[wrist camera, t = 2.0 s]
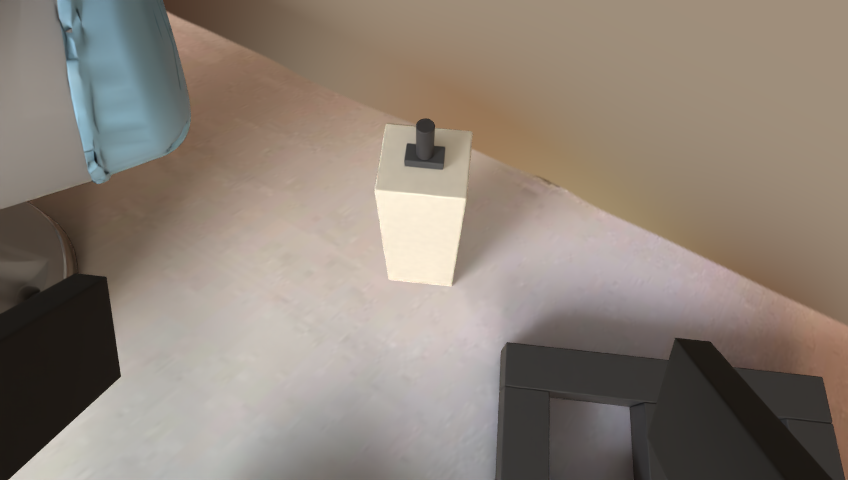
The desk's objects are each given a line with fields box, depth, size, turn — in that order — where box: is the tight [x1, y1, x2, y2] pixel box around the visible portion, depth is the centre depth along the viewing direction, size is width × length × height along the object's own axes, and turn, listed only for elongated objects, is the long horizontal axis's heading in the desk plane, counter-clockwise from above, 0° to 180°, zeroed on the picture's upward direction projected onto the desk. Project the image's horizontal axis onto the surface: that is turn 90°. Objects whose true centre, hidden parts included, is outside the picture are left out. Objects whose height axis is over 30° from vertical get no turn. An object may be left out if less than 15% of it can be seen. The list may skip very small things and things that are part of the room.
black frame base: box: [495, 342, 845, 480], centre depth 28 cm, size 10×18×2 cm, turn 84°
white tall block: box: [374, 119, 472, 286], centre depth 27 cm, size 4×4×14 cm
